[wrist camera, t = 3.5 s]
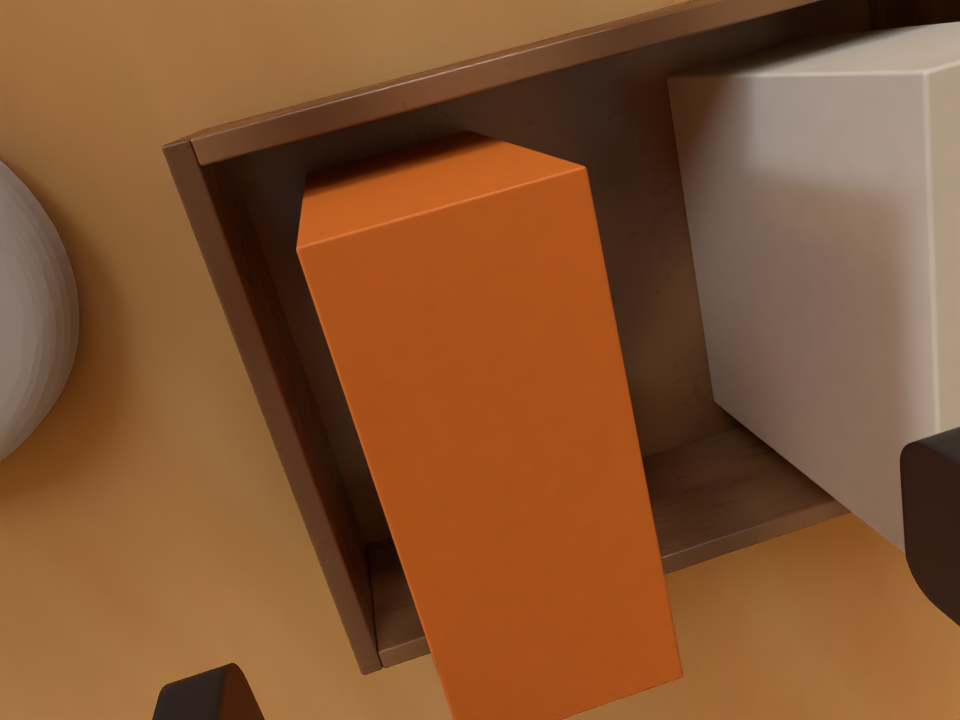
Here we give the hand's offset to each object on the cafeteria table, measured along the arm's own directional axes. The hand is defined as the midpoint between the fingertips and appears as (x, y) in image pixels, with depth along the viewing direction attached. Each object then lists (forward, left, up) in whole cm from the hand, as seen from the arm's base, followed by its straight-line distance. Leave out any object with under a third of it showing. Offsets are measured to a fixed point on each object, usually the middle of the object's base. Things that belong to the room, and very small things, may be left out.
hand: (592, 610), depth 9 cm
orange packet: (0, 0, -12) cm, 12 cm away
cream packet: (+9, 0, -12) cm, 15 cm away
